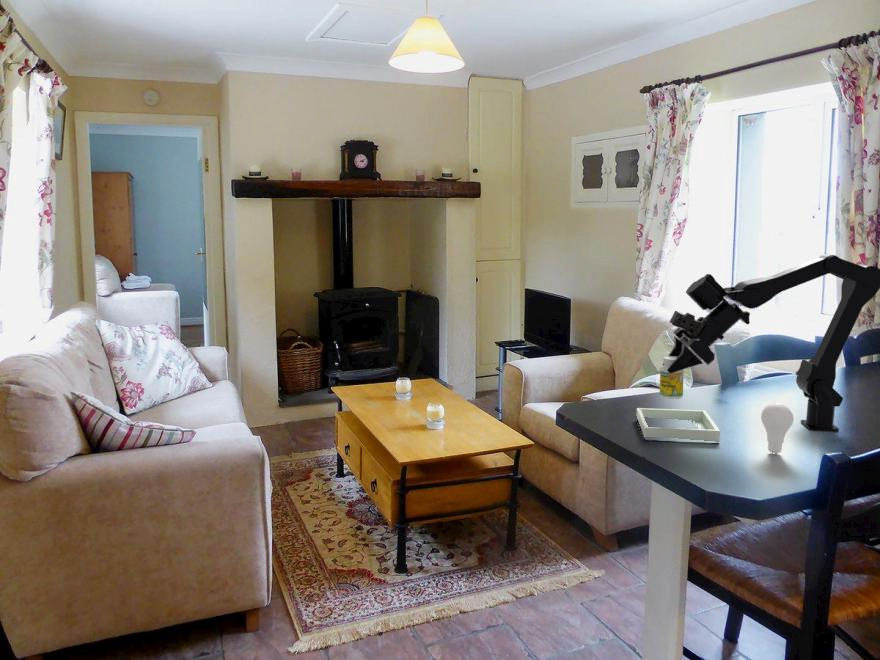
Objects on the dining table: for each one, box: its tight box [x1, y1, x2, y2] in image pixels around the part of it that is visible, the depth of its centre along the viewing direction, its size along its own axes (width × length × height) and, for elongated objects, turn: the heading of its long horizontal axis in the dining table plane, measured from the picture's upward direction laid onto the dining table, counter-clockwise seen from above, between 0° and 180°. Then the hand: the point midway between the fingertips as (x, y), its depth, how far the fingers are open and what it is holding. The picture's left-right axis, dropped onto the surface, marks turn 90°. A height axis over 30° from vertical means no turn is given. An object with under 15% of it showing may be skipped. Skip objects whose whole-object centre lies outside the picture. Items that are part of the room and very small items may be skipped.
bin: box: [636, 407, 721, 443], centre depth 165 cm, size 16×16×3 cm
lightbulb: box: [760, 402, 794, 454], centre depth 149 cm, size 6×6×11 cm
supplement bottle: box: [659, 356, 685, 400], centre depth 170 cm, size 5×5×10 cm
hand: (666, 369), depth 170 cm, fingers closed on supplement bottle, 5 cm apart
